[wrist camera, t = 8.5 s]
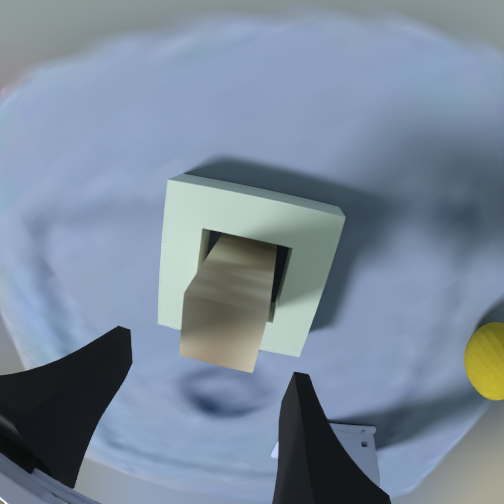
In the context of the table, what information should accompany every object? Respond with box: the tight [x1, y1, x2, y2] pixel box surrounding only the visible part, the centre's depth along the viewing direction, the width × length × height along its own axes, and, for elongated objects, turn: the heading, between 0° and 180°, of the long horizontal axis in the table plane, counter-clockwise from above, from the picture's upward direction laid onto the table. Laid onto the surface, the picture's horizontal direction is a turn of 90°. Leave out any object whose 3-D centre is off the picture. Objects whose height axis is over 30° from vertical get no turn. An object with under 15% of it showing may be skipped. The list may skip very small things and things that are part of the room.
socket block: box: [158, 174, 346, 357], centre depth 19 cm, size 10×10×2 cm
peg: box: [179, 233, 277, 373], centre depth 17 cm, size 4×4×8 cm
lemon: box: [464, 322, 504, 400], centre depth 17 cm, size 6×6×8 cm
